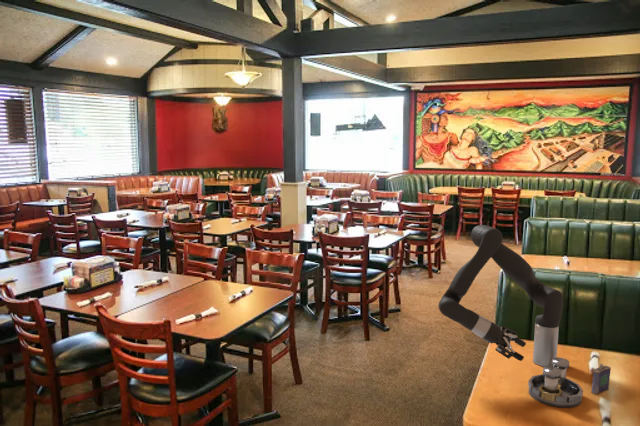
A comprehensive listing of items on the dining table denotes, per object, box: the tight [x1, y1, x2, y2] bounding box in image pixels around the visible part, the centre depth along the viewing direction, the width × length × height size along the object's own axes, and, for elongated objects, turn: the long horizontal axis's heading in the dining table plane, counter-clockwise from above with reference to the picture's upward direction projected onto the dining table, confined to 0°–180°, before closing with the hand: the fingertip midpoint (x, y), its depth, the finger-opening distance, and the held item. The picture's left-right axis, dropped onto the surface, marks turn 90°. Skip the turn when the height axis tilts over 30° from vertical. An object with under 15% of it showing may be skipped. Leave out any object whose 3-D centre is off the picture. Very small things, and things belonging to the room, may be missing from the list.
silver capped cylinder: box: [542, 366, 561, 394], centre depth 185 cm, size 6×6×10 cm
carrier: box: [527, 356, 584, 409], centre depth 189 cm, size 18×18×12 cm
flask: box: [591, 363, 612, 396], centre depth 193 cm, size 9×3×11 cm, turn 121°
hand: (523, 351), depth 195 cm, fingers open, 8 cm apart
